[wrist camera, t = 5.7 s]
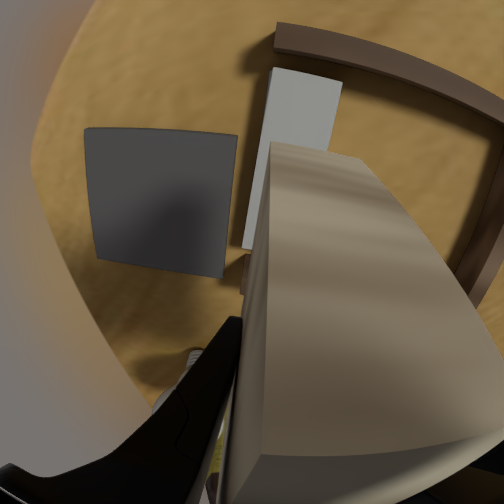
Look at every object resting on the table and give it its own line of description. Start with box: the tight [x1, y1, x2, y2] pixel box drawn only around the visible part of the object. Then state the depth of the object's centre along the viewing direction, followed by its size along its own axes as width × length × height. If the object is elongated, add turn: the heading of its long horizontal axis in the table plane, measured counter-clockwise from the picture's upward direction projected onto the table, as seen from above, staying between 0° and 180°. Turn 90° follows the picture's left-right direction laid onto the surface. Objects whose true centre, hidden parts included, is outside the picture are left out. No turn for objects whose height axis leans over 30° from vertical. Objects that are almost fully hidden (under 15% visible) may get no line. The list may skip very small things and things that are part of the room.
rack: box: [240, 22, 504, 309], centre depth 18 cm, size 18×20×3 cm
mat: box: [84, 127, 238, 279], centre depth 21 cm, size 11×11×1 cm
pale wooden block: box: [216, 141, 504, 504], centre depth 8 cm, size 10×3×9 cm, turn 172°
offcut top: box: [242, 67, 343, 250], centre depth 19 cm, size 12×4×1 cm, turn 171°
